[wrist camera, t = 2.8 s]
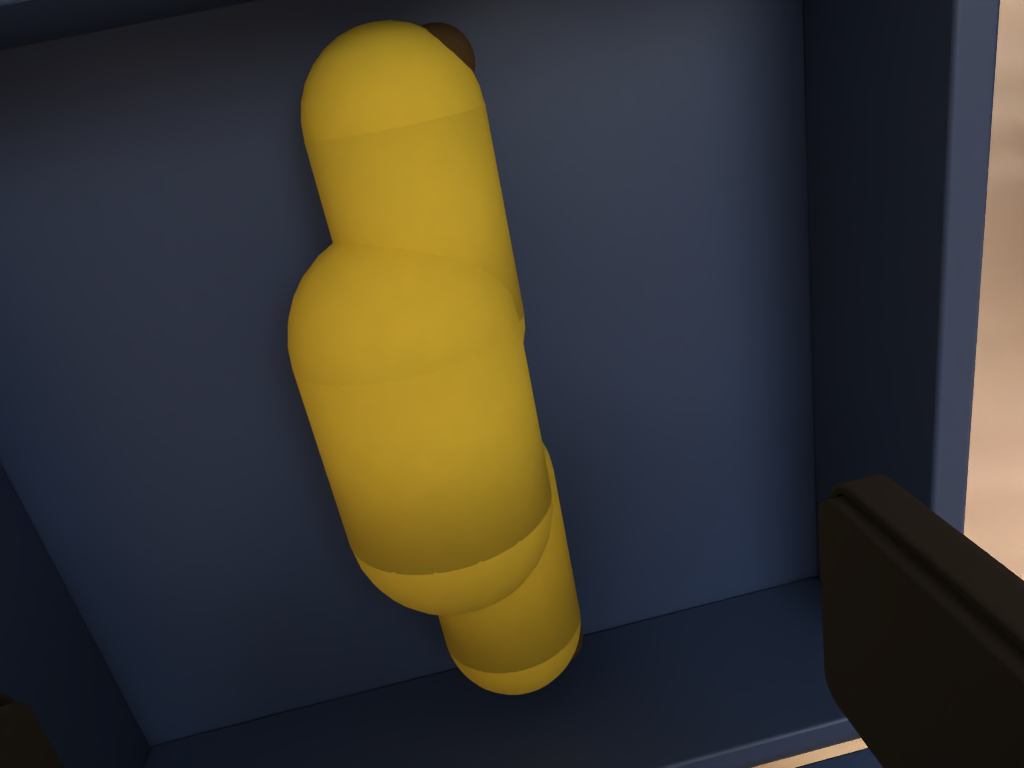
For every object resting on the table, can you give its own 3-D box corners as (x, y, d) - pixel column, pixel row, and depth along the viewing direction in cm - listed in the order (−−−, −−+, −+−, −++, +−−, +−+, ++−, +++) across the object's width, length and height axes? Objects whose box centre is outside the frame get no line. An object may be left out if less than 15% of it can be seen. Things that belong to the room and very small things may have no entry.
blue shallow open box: (-232, 51, 13) (-577, 39, 8) (814, -147, 14) (1020, -253, 9) (139, 749, 19) (63, 956, 15) (828, 573, 20) (953, 714, 16)
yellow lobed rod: (220, 57, 13) (154, 51, 9) (457, 10, 13) (484, -14, 10) (407, 655, 18) (411, 799, 15) (573, 612, 19) (618, 744, 15)
